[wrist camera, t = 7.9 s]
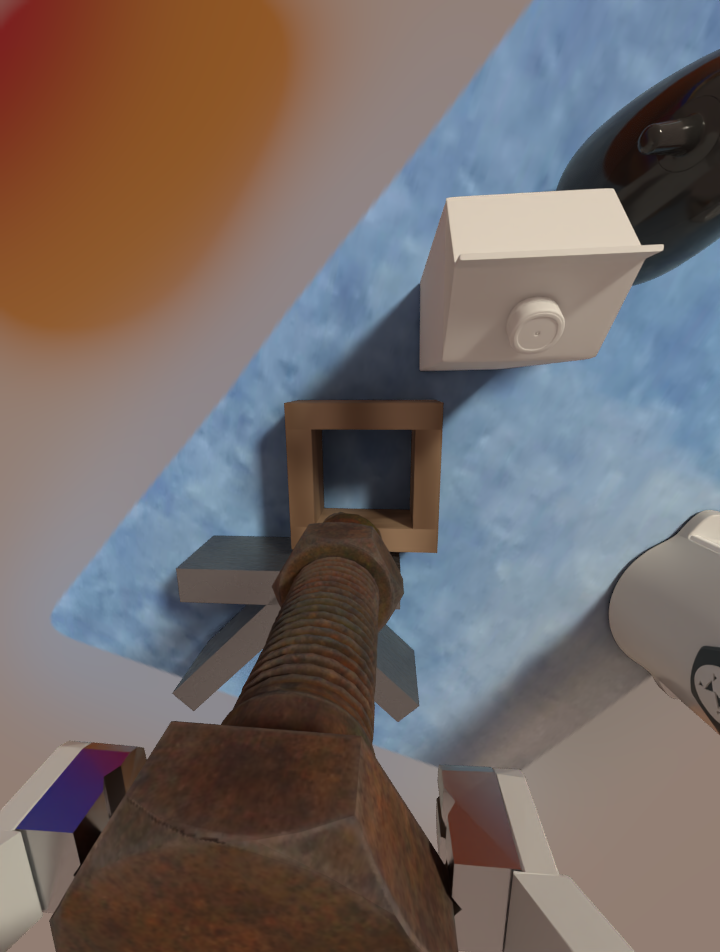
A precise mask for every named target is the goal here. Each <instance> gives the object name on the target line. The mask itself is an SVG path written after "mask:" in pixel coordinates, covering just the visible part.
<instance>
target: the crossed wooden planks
mask: <svg viewBox="0 0 720 952" xmlns="http://www.w3.org/2000/svg"><path fill="white" fill-rule="evenodd" d="M292 551H293V549H291V537H254V536H213V537H211V538H210V539H209V540H208V541H207V542H206V543H205V544H203V545H202V546H201V547H200V548H199V549H198V550H197V551H196V552H194V553H193V554H192V555H191V556H190V557H189V558H188V559H186V560H185V561H184V562H183V563H182V564H181V565H180V566H178V567H177V568H176V571H177V579H178V587H179V595H180V602H196V603H226V604H247V605H246V606H245V607H244V608H243V609H242V610H241V611H240V612H239V613H238V614H237V615H236V616H235V617H234V618H233V619H232V620H230V621H229V622H228V623H227V624H226V625H225V626H224V627H223V628H222V629H221V630H220V631H219V632H218V633H217V634H216V635H215V636H214V637H213V638H212V639H211V640H210V641H208V643H207V644H206V645H205V647H204V648H203V650H202V651H201V653H200V654H199V655H198V657H197V658H196V660H195V661H194V663H193V664H192V666H191V667H190V668H189V670H188V671H187V673H186V674H185V676H184V677H183V679H182V680H181V681H180V683H179V684H178V686H177V687H176V689H175V690H174V692H173V694H174V695H175V696H176V697H177V698H178V699H180V700H181V701H182V702H183V703H185V704H186V705H187V706H188V707H189V708H191V709H192V710H193V711H195V710H196V709H197V708H198V707H199V706H200V705H201V704H202V703H203V702H204V701H205V700H207V699H208V698H209V697H210V696H211V695H212V694H213V693H214V692H215V691H217V690H218V689H219V688H220V687H221V686H222V685H223V684H224V683H225V682H227V681H228V680H229V679H230V678H231V677H232V676H233V675H234V674H235V673H236V672H238V671H239V670H240V669H241V668H242V667H243V666H244V665H245V664H246V663H248V662H249V661H250V660H251V659H252V658H253V657H254V656H255V655H256V654H257V653H259V652H260V651H261V650H262V649H263V648H264V646H265V644H266V641H267V638H268V635H269V633H270V630H271V628H272V625H273V623H274V622H275V619H276V617H277V616H278V613H279V611H280V609H281V607H280V605H279V603H278V601H277V599H276V596H275V594H274V591H273V589H272V585H273V583H274V581H275V580H276V578H277V576H278V574H279V573H280V571H281V569H282V568H283V566H284V564H285V562H286V561H287V559H288V557H289V556H290V554H291V552H292ZM390 554H391V556H392V558H393V560H394V561H395V563H396V565H397V568H398V570H399V572H400V558H399V552H390ZM396 609H400V602H399V603H398V605H397V607H396ZM374 701H375V702H376V703H377V704H378V705H379V706H380V707H382V708H383V709H384V710H385V711H386V712H387V713H388V714H389V715H390V716H392V717H393V718H394V719H395V720H396V721H397V722H399V721H400V720H401V719H403V718H404V717H405V716H407V715H408V714H409V713H410V712H412V711H413V710H414V709H416V708H417V707H418V706H419V698H418V687H417V677H416V666H415V656H414V650H413V649H412V648H411V647H409V646H408V645H407V644H406V643H405V642H404V641H403V640H402V639H401V638H400V637H399V636H398V635H397V634H395V633H394V632H393V631H392V630H391V629H390V628H389V627H388V626H387V625H386V624H385V626H384V627H383V628H382V629H381V630H380V632H379V633H378V643H377V667H376V686H375V695H374Z"/></svg>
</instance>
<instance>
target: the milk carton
mask: <svg viewBox="0 0 720 952" xmlns="http://www.w3.org/2000/svg"><path fill="white" fill-rule="evenodd" d="M663 249H664V245H663V244H658V245H641V244H640V242H639V240H638V238H637V236H636V234H635V231H634V229H633V227H632V225H631V223H630V221H629V219H628V217H627V215H626V213H625V211H624V209H623V207H622V205H621V203H620V200H619V198H618V196H617V194H616V192H615V190H614V189H612V188H604V189H585V190H567V191H550V192H533V193H516V194H498V195H481V196H464V197H451V198H446V203H445V206H444V209H443V212H442V215H441V218H440V222H439V225H438V228H437V231H436V234H435V237H434V240H433V243H432V247H431V250H430V253H429V256H428V259H427V262H426V265H425V269H424V272H423V275H422V278H421V281H420V368H419V369H420V371H449V370H488V369H506V368H515V367H524V366H532V365H541V364H550V363H559V362H568V361H576V360H584V359H590V358H593V357H595V356H596V355H597V353H598V351H599V349H600V347H601V345H602V343H603V341H604V339H605V338H606V336H607V334H608V332H609V330H610V328H611V326H612V324H613V322H614V320H615V318H616V316H617V314H618V312H619V310H620V308H621V306H622V304H623V302H624V300H625V298H626V296H627V294H628V292H629V290H630V288H631V286H632V284H633V282H634V280H635V278H636V276H637V274H638V272H639V270H640V268H641V266H642V264H643V262H644V260H645V259H646V258H648V257H650V256H652V255H654V254H656V253H659V252H661V251H663Z"/></svg>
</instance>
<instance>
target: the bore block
mask: <svg viewBox="0 0 720 952" xmlns="http://www.w3.org/2000/svg"><path fill="white" fill-rule="evenodd" d="M284 408H285V428H286V448H287V468H288V488H289V509H290V529H291V549H294V548H295V546H296V544H297V543H298V541H299V539H300V538H301V536H302V534H303V533H304V531H305V530H306V528H307V526H308V525H309V524H313V523H323V522H324V520H325V519H326V518H327V517H328V516H330V515H331V514H333V513H338V512H344V513H349V514H358V515H360V516H362V517H364V518H366V519H368V520H369V521H370V522H371V523H372V524H373V525H375V527H376V528H377V529H379V531H380V533H381V537H382V540H383V542H384V544H385V545H386V547H387V549H388V550H389V552H426V553H437V544H438V520H439V497H440V473H441V449H442V426H443V402H440V401H438V400H297V401H292V402H287V403H284ZM322 429H360V430H412V434H411V476H410V510H407V509H344V508H324V485H323V450H322Z"/></svg>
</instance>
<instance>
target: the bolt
mask: <svg viewBox="0 0 720 952" xmlns="http://www.w3.org/2000/svg"><path fill="white" fill-rule="evenodd" d="M272 589H273V591H274V594H275V596H276V599H277V601H278V603H279V605H280V607H281V609H280V611H279V613H278V616H277V617H276V619H275V622H274V623H273V625H272V628H271V630H270V633H269V635H268V638H267V641H266V644H265V646H264V648H263V650H262V652H261V654H260V656H259V658H258V660H257V662H256V664H255V666H254V667H253V669H252V671H251V673H250V675H249V677H248V679H247V681H246V683H245V685H244V686H243V688H242V692H241V694H240V696H239V698H238V700H237V702H236V704H235V706H234V708H233V710H232V711H231V712H230V713H229V714H228V715H227V717H226V718H225V719H224V720H223V722H222V724H221V725H216V724H203V723H189V722H178V721H172V722H171V723H170V725H169V726H168V728H167V729H166V731H165V732H164V734H163V736H162V737H161V739H160V740H159V742H158V744H157V745H156V747H155V748H154V750H153V752H152V753H151V755H150V756H149V758H148V759H147V761H146V763H145V764H144V766H143V767H142V769H141V770H140V772H139V774H138V775H137V777H136V778H135V780H134V782H133V783H132V785H131V786H130V788H129V789H128V791H127V793H126V794H125V796H124V797H123V799H122V801H121V802H120V804H119V805H118V807H117V809H116V810H115V812H114V813H113V815H112V817H111V818H110V820H109V821H108V823H107V825H106V826H105V828H104V829H103V831H102V833H101V834H100V836H99V837H98V839H97V841H96V842H95V844H94V845H93V847H92V849H91V850H90V852H89V854H88V855H87V857H86V859H85V860H84V862H83V864H82V865H81V867H80V869H79V871H78V872H77V874H76V876H75V877H74V879H73V881H72V882H71V884H70V886H69V888H68V889H67V891H66V893H65V894H64V896H63V898H62V900H61V901H60V903H59V905H58V907H57V908H56V910H55V912H54V913H53V915H52V917H51V919H50V921H49V922H50V926H51V931H52V936H53V940H54V944H55V949H56V952H458V944H457V935H456V926H455V918H454V909H453V901H452V894H451V887H450V879H449V871H448V869H447V867H446V866H445V864H444V863H443V861H442V860H441V858H440V856H439V855H438V853H437V852H436V851H435V849H434V847H433V846H432V844H431V843H430V841H429V839H428V838H427V837H426V835H425V833H424V832H423V830H422V829H421V827H420V826H419V824H418V823H417V821H416V819H415V818H414V816H413V815H412V813H411V812H410V810H409V809H408V807H407V805H406V804H405V802H404V801H403V800H402V798H401V796H400V795H399V793H398V792H397V790H396V789H395V787H394V785H393V784H392V782H391V781H390V779H389V778H388V776H387V775H386V773H385V771H384V770H383V768H382V767H381V765H380V764H379V762H378V761H377V759H376V757H375V753H374V749H373V746H372V742H373V733H374V710H375V705H374V695H375V686H376V667H377V643H378V633H379V632H380V630H381V629H382V628H383V627H384V626H385V624H386V623H387V621H388V620H389V618H390V617H391V615H392V614H393V612H394V610H395V609H396V607H397V605H398V603H399V602H400V600H401V598H402V596H403V594H404V589H403V578H402V576H401V574H400V572H399V570H398V568H397V565H396V563H395V561H394V560H393V558H392V556H391V554H390V552H389V550H388V549H387V547H386V545H385V544H384V542H383V540H382V537H381V533H380V531H379V529H377V528H376V527H375V525H373V524H372V523H371V522H370V521H369V520H368V519H366V518H364V517H362V516H360V515H358V514H349V513H344V512H338V513H333V514H331V515H330V516H328V517H327V518H326V519H325V520H324V522H323V523H313V524H309V525H308V526H307V528H306V530H305V531H304V533H303V534H302V536H301V538H300V539H299V541H298V543H297V544H296V546H295V548H294V549H293V551H292V552H291V554H290V556H289V557H288V559H287V561H286V562H285V564H284V566H283V568H282V569H281V571H280V573H279V574H278V576H277V578H276V580H275V581H274V583H273V585H272Z"/></svg>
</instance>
